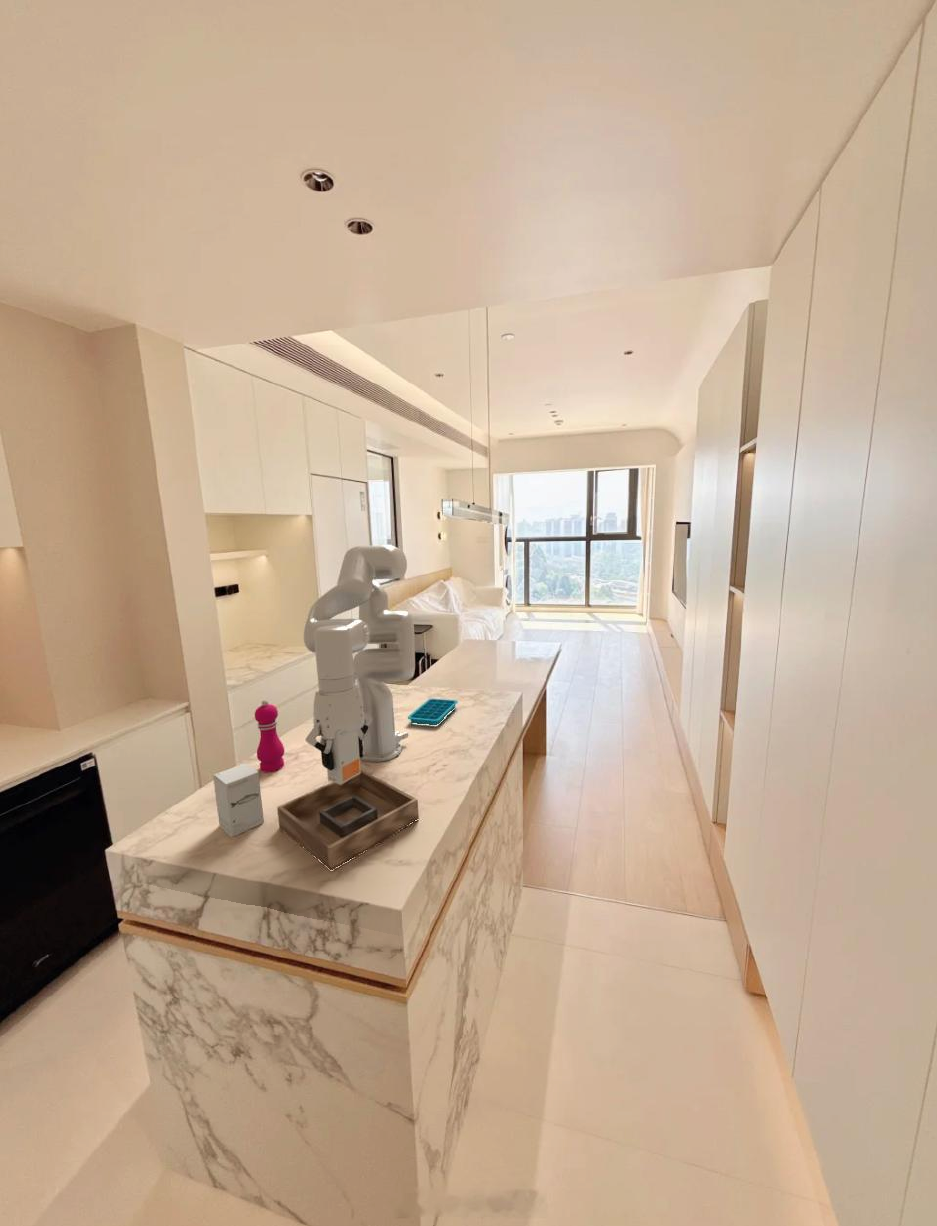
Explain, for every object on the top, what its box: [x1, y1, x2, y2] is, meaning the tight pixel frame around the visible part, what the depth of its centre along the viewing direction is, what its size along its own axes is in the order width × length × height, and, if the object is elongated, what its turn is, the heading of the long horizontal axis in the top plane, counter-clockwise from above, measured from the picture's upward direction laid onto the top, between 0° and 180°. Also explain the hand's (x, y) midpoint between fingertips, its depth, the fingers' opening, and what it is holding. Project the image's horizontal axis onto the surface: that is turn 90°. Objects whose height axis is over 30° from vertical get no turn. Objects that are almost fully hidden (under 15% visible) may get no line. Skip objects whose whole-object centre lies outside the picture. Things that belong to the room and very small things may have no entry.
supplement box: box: [212, 762, 265, 838], centre depth 107 cm, size 7×7×13 cm
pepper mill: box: [254, 699, 285, 773], centre depth 134 cm, size 7×7×20 cm
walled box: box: [276, 769, 420, 871], centre depth 106 cm, size 22×22×5 cm
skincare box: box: [326, 729, 361, 785], centre depth 104 cm, size 6×4×12 cm
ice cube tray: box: [407, 698, 459, 725], centre depth 169 cm, size 12×20×3 cm, turn 161°
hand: (343, 761), depth 104 cm, fingers closed on skincare box, 6 cm apart
